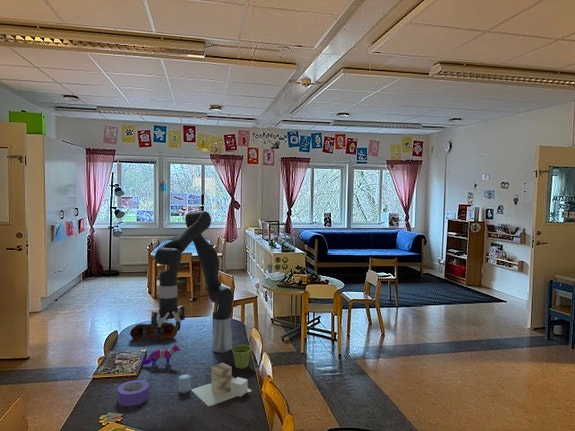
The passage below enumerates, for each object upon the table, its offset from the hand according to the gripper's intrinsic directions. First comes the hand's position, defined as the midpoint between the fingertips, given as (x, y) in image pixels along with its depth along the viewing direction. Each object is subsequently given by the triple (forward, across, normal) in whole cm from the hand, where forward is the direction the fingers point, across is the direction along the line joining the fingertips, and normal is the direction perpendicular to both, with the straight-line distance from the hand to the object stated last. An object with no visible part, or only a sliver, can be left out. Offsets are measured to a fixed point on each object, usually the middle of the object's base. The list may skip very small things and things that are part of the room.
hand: (168, 332), depth 173 cm
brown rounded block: (+23, -22, -58) cm, 66 cm away
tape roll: (+24, +15, 0) cm, 28 cm away
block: (+23, -18, +26) cm, 39 cm away
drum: (+23, -3, +9) cm, 25 cm away
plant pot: (+23, -34, +6) cm, 42 cm away
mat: (+23, -14, +19) cm, 33 cm away
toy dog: (+23, -7, -20) cm, 31 cm away
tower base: (+23, -14, +19) cm, 33 cm away
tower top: (+18, -14, +19) cm, 29 cm away
